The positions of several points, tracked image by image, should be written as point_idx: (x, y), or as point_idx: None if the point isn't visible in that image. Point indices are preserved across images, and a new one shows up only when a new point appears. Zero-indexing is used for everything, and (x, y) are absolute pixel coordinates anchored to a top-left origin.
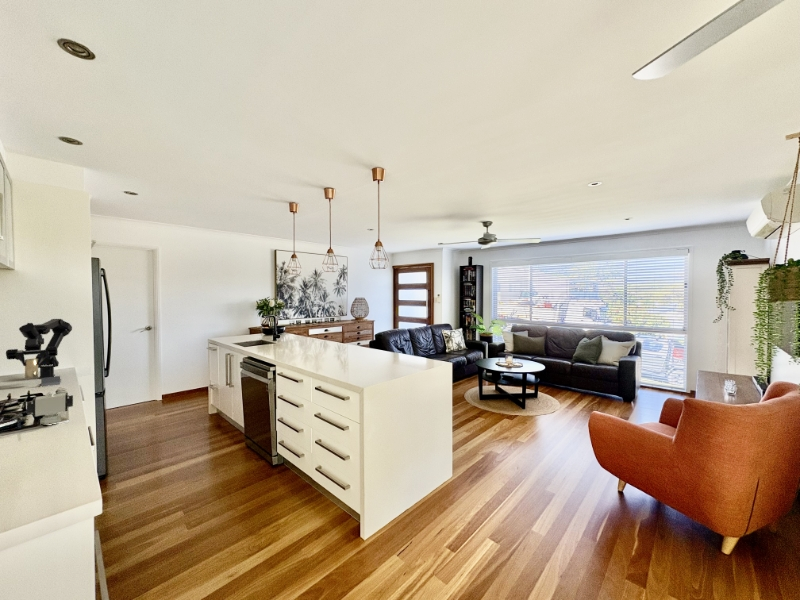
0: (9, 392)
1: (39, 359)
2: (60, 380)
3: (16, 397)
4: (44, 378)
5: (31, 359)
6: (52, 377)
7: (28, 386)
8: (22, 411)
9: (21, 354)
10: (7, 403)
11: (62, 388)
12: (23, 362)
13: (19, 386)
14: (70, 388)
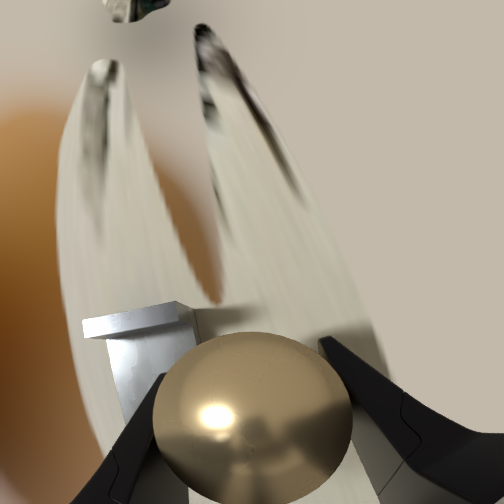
0: (308, 211)
1: (142, 425)
2: (114, 376)
3: (223, 94)
4: (159, 305)
5: (243, 400)
6: (118, 314)
7: None
8: (166, 4)
9: (475, 463)
10: (220, 43)
11: (90, 192)
12: (346, 358)
13: None
14: (68, 178)
